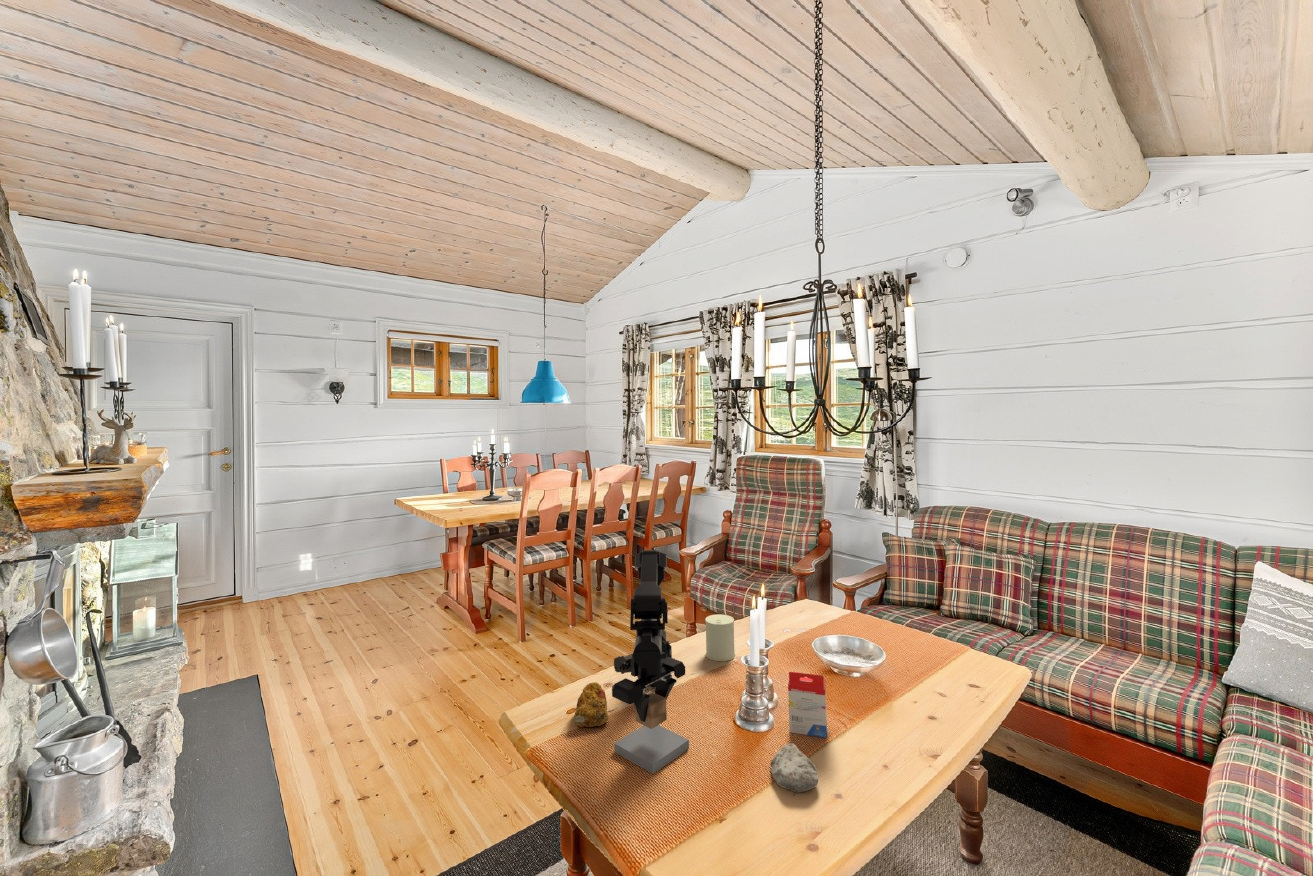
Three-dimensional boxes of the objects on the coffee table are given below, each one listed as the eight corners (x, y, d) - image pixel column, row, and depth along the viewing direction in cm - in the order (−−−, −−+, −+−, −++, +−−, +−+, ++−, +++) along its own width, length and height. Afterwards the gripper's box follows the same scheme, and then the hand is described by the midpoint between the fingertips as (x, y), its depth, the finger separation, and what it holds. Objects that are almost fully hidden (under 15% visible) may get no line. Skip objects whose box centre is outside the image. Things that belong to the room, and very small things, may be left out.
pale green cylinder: (704, 660, 170) (703, 622, 170) (707, 648, 179) (706, 612, 179) (734, 662, 169) (733, 623, 168) (735, 649, 178) (734, 613, 178)
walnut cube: (650, 712, 128) (650, 691, 128) (666, 719, 124) (666, 698, 124) (635, 721, 124) (635, 699, 124) (651, 729, 121) (651, 707, 121)
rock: (612, 732, 139) (608, 719, 132) (580, 741, 138) (574, 729, 131) (605, 688, 147) (601, 674, 140) (574, 696, 146) (568, 682, 139)
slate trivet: (650, 729, 133) (650, 721, 133) (689, 748, 125) (688, 739, 125) (614, 752, 124) (614, 743, 124) (653, 774, 116) (652, 764, 116)
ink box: (827, 727, 132) (826, 667, 131) (826, 739, 127) (825, 676, 127) (790, 722, 135) (789, 663, 134) (788, 733, 130) (787, 671, 130)
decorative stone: (834, 787, 111) (833, 762, 111) (791, 804, 106) (790, 779, 106) (794, 754, 122) (794, 732, 122) (754, 768, 117) (753, 745, 117)
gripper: (651, 627, 136) (653, 689, 137) (594, 652, 122) (596, 721, 123) (686, 638, 129) (687, 704, 129) (629, 666, 115) (631, 739, 115)
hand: (651, 716), depth 124 cm, fingers closed on walnut cube, 5 cm apart
